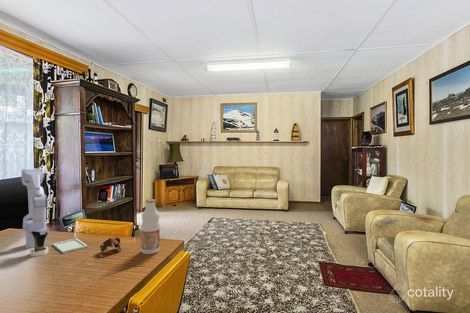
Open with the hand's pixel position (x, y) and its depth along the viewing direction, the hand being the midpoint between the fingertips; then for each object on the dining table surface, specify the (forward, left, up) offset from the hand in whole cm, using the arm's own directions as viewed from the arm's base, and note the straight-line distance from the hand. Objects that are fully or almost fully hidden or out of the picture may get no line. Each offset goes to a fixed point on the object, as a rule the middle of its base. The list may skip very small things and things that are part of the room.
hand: (39, 245), depth 134 cm
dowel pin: (0, 0, -3) cm, 3 cm away
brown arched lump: (+23, +27, -5) cm, 36 cm away
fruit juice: (+39, +41, -5) cm, 57 cm away
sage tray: (0, +14, -5) cm, 15 cm away
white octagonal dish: (0, 0, -5) cm, 5 cm away
